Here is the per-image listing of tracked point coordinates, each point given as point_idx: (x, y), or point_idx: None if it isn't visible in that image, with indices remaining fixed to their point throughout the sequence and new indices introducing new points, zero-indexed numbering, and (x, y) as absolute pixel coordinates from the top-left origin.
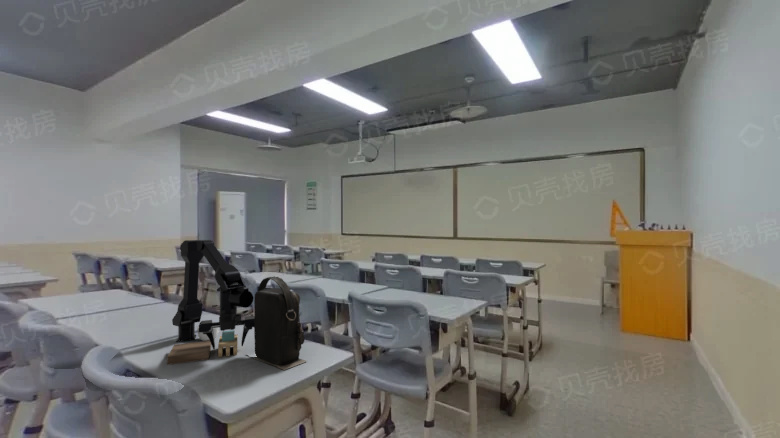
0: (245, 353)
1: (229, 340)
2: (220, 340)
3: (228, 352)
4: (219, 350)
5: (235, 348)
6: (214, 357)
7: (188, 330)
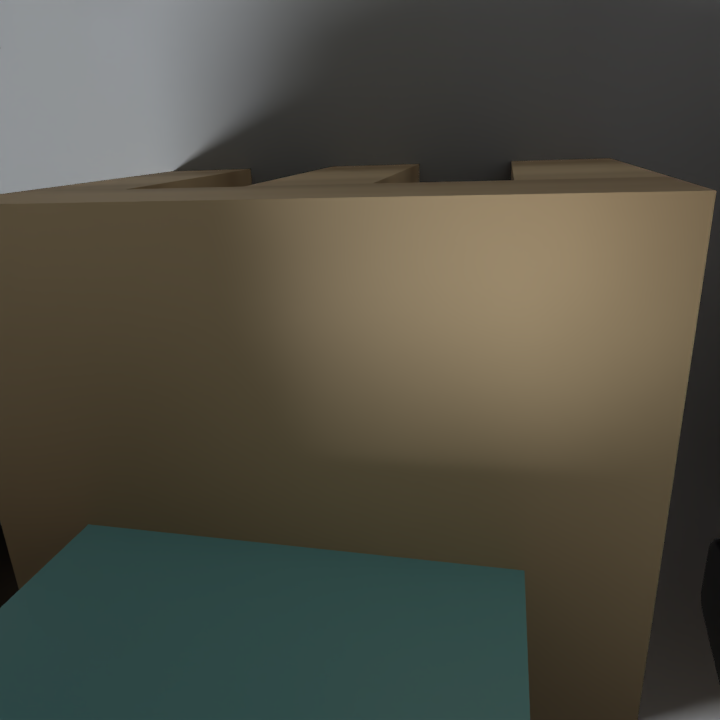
0: (16, 190)
1: (241, 547)
2: (581, 717)
3: (338, 172)
4: (604, 167)
5: (120, 186)
6: (711, 172)
7: None
